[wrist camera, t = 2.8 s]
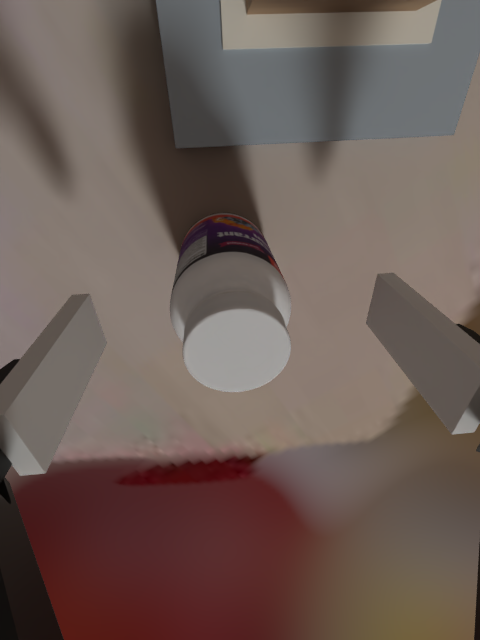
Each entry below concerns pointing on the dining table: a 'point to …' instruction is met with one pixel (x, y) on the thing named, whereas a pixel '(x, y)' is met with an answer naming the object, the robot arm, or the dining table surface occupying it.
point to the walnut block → (332, 6)
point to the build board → (315, 72)
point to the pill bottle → (230, 305)
